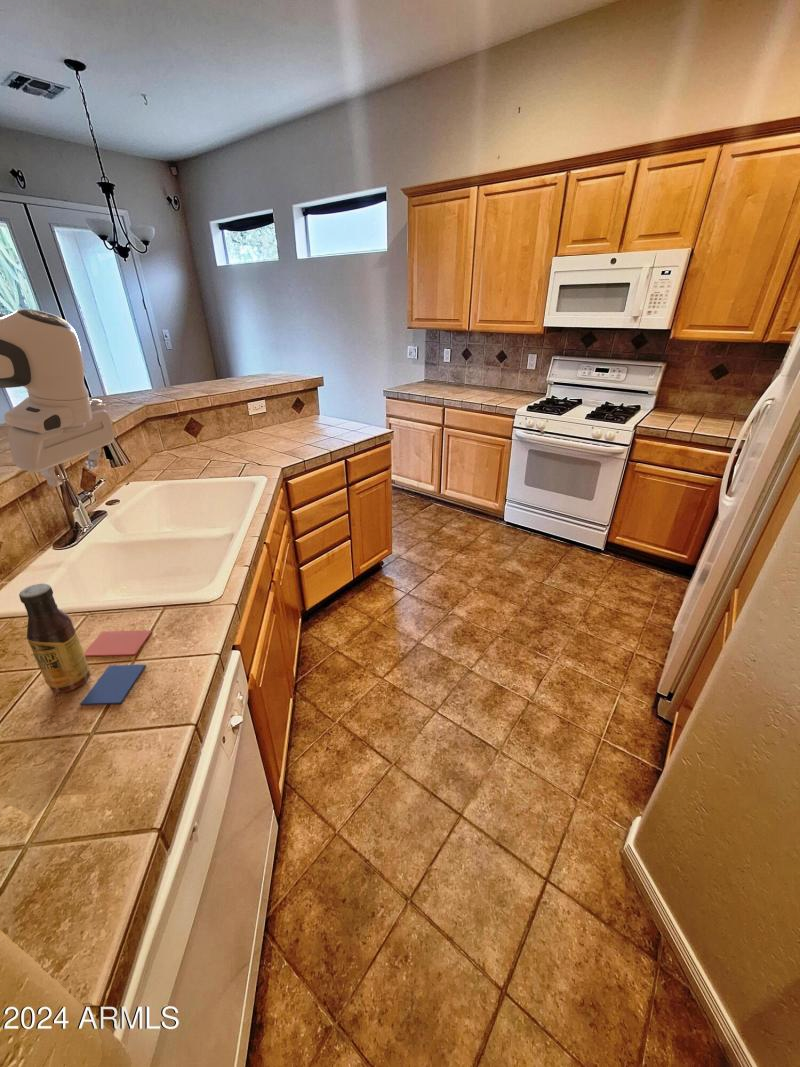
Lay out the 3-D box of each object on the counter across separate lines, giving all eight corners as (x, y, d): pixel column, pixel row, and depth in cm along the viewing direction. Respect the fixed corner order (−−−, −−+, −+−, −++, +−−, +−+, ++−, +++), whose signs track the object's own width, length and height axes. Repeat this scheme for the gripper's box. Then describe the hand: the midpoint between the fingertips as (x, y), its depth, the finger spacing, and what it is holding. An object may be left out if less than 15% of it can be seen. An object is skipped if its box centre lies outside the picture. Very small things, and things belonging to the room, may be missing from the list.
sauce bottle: (41, 689, 75) (-4, 595, 66) (76, 665, 80) (38, 575, 72) (67, 699, 73) (24, 604, 64) (101, 674, 78) (66, 583, 70)
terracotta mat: (81, 657, 82) (81, 655, 82) (102, 632, 89) (102, 631, 89) (135, 655, 83) (135, 654, 83) (152, 631, 89) (152, 630, 89)
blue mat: (80, 705, 72) (80, 703, 72) (109, 667, 80) (109, 665, 80) (121, 704, 73) (120, 702, 72) (146, 665, 81) (145, 664, 80)
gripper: (89, 393, 89) (99, 455, 96) (-7, 417, 71) (14, 491, 78) (118, 401, 88) (125, 462, 95) (29, 426, 71) (47, 500, 78)
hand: (75, 476), depth 86 cm, fingers open, 8 cm apart
